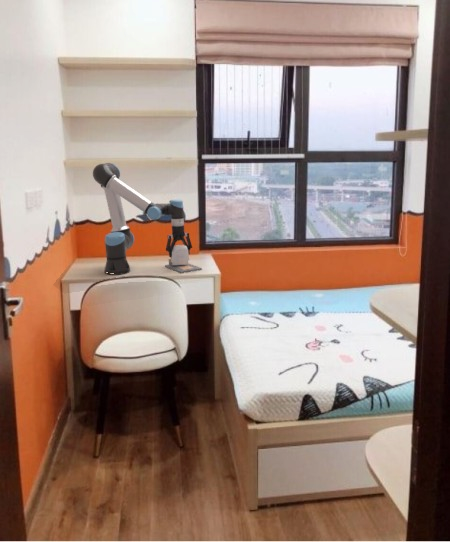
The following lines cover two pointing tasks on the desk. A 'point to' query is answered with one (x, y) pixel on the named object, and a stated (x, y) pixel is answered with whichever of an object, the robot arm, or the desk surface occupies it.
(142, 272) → the desk surface
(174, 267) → the dock
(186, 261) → the photo printer
